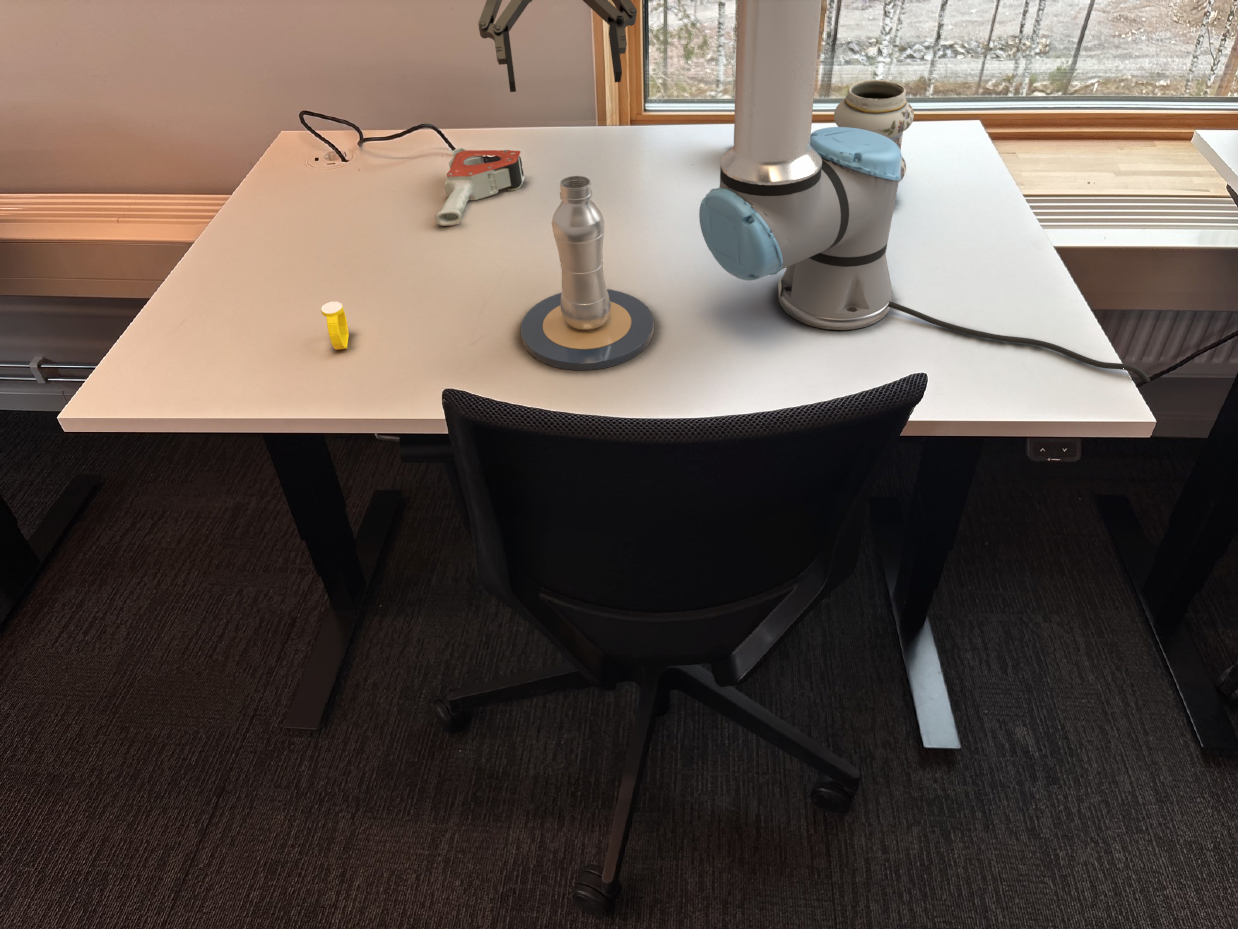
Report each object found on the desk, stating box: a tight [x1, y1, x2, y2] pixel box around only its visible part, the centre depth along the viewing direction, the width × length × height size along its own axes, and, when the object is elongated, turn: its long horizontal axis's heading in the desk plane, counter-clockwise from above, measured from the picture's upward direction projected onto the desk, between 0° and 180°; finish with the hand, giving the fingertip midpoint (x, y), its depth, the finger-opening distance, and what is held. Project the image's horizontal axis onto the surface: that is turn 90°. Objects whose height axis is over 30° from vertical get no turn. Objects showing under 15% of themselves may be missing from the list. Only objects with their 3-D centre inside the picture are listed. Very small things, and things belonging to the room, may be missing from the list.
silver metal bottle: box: [551, 175, 611, 330], centre depth 114 cm, size 6×7×20 cm
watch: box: [320, 301, 350, 351], centre depth 120 cm, size 6×3×6 cm, turn 7°
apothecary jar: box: [833, 79, 915, 183], centre depth 140 cm, size 12×12×18 cm
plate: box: [520, 288, 655, 371], centre depth 121 cm, size 18×18×1 cm
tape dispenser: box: [434, 147, 526, 227], centre depth 152 cm, size 18×5×20 cm
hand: (565, 82), depth 114 cm, fingers open, 13 cm apart
